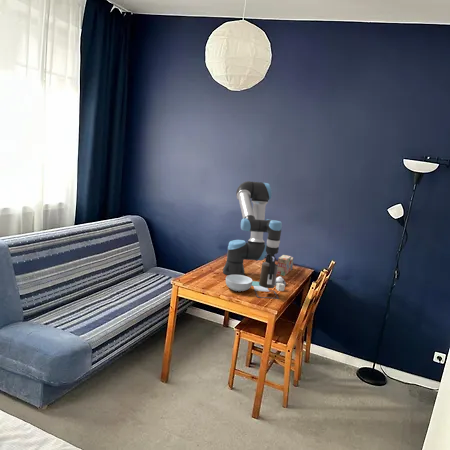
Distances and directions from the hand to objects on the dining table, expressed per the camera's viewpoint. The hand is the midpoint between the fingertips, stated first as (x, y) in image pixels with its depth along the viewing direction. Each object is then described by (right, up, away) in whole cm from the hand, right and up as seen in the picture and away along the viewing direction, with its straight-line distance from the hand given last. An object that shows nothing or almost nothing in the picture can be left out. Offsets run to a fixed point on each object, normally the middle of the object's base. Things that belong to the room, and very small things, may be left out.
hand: (267, 281), depth 255 cm
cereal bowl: (-18, -6, +4) cm, 19 cm away
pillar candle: (0, -3, +1) cm, 3 cm away
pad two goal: (-6, -4, +18) cm, 20 cm away
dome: (+10, -5, +23) cm, 25 cm away
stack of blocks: (+18, 0, +53) cm, 56 cm away
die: (+9, -7, +12) cm, 17 cm away
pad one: (-3, -6, +10) cm, 12 cm away
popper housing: (+10, -5, +23) cm, 26 cm away
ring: (-1, -8, +1) cm, 8 cm away
